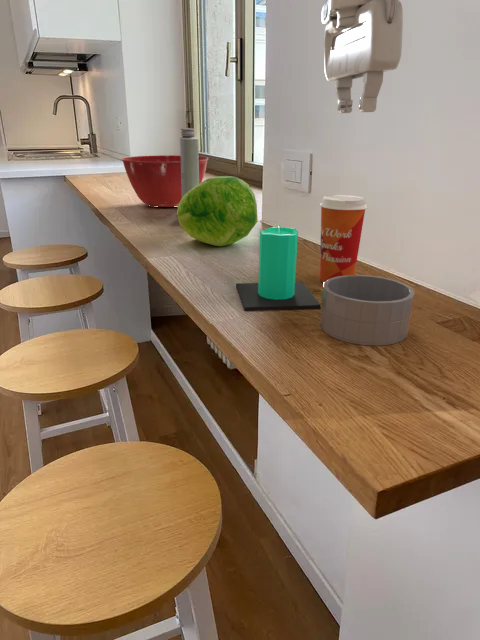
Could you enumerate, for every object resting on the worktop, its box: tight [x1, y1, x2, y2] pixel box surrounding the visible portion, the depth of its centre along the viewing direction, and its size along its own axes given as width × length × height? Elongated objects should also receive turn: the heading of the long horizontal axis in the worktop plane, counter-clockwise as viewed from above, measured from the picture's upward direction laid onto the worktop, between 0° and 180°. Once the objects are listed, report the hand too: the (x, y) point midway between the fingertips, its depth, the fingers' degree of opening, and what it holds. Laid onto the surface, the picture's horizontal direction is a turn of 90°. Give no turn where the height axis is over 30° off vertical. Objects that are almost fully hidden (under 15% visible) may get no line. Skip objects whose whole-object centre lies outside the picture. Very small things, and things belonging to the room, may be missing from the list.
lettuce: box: [176, 175, 258, 247], centre depth 114 cm, size 17×20×17 cm
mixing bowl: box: [120, 154, 209, 207], centre depth 165 cm, size 28×28×16 cm
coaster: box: [235, 281, 322, 312], centre depth 82 cm, size 12×12×1 cm
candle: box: [257, 220, 299, 300], centre depth 80 cm, size 6×6×12 cm
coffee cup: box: [319, 194, 368, 284], centre depth 88 cm, size 8×8×15 cm
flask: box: [179, 127, 200, 198], centre depth 138 cm, size 17×5×25 cm, turn 7°
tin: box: [319, 274, 416, 347], centre depth 69 cm, size 12×12×6 cm
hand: (355, 112), depth 69 cm, fingers open, 8 cm apart
